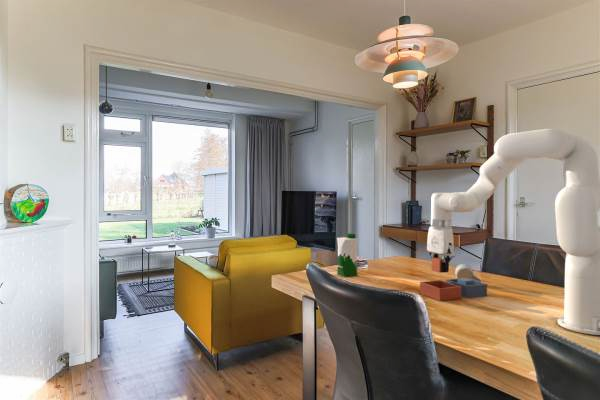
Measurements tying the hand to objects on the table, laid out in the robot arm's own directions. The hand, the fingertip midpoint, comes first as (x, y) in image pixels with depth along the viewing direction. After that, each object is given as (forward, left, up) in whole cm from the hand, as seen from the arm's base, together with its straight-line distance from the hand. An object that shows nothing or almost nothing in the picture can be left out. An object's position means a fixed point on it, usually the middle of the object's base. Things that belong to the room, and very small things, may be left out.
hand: (440, 270), depth 142 cm
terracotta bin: (0, 0, -10) cm, 10 cm away
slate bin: (0, -13, -10) cm, 16 cm away
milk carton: (+45, +17, -10) cm, 49 cm away
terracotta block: (0, 0, 0) cm, 0 cm away
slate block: (0, -13, -9) cm, 16 cm away
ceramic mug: (+14, -28, -10) cm, 33 cm away
